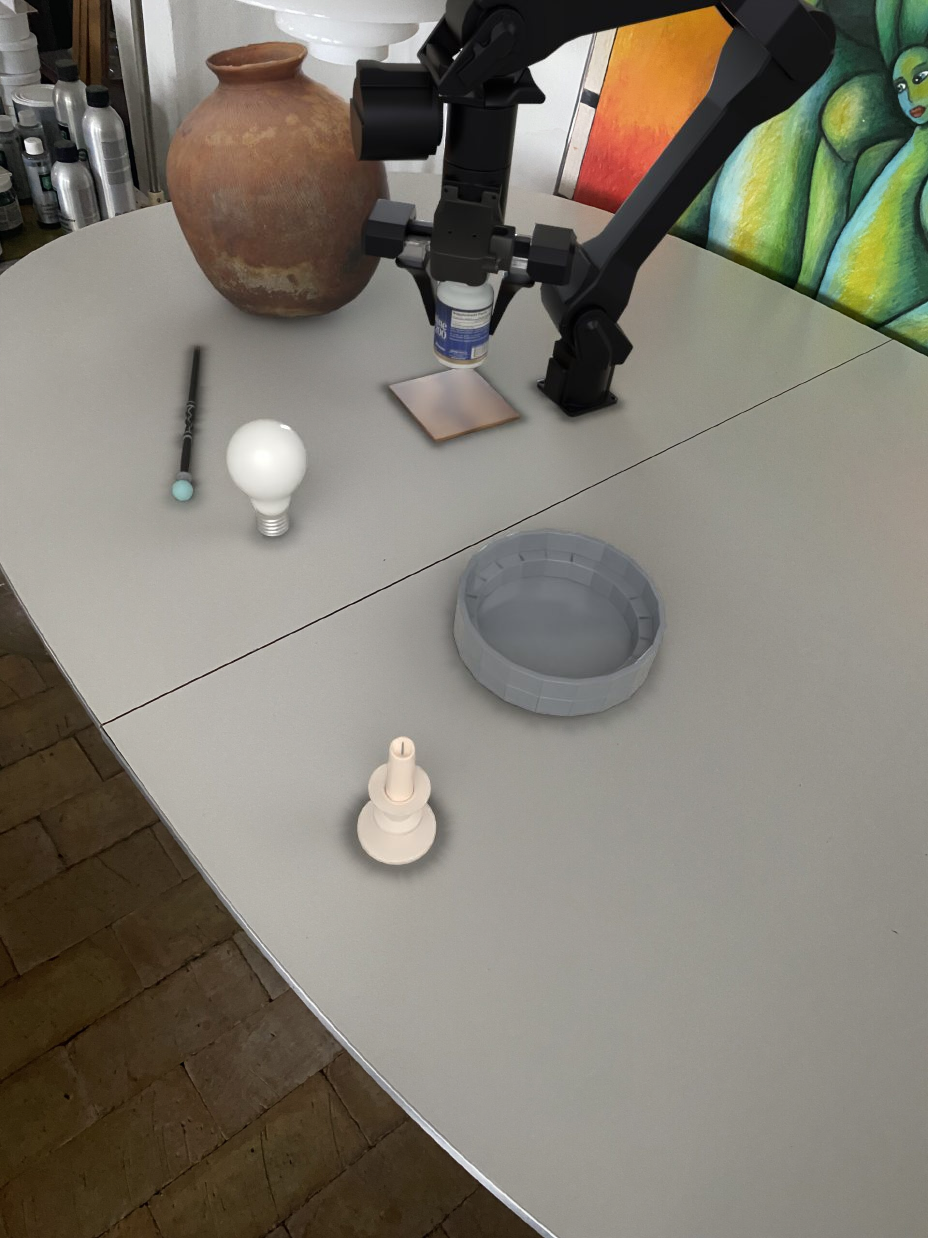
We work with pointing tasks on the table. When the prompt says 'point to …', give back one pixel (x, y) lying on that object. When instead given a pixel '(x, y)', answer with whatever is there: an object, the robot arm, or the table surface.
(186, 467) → the magic wand
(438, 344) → the pill bottle
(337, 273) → the pottery
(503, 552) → the basin
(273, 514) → the lightbulb
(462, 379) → the coaster
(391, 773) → the candle
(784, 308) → the table surface
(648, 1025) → the table surface
